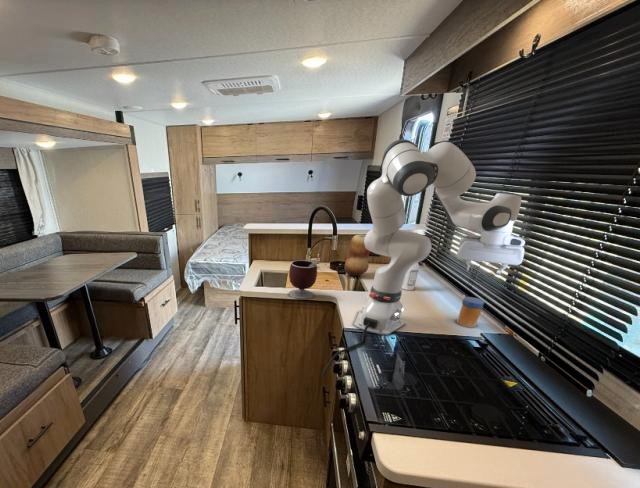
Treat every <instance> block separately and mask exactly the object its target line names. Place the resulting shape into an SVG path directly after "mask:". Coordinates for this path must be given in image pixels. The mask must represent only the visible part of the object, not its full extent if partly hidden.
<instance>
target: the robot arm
mask: <svg viewBox="0 0 640 488" xmlns="http://www.w3.org/2000/svg"><path fill="white" fill-rule="evenodd" d="M381 159H382V160H381V164H380V166H379V170H378V171H379V173H380V175H381V176H380V177H378V178H377V179H375V180H373V181H372V182H370V184H369V185H368V187H367V190H366V200H367V207H368V211H369V214H370V217H371V221H372V226H373V227H372V228H370V229H369V230H368V231H367V232H366V234H365V235H366V236H365V239H364V245H365V248H366V249H367V250H369V251H370V253H373V254H375V255H379V256H384V257H388V258H390V261H389V263H387V264H383V265H381V266H379V267H378V268H376V270H375V272H374V276H373V277H374V278H373V283H372V286H371V288H370V290H369V295H368V296H366V300H365V303H364V306H363V307H362V309H360V310H358V311H359V312H358V314H357V316H356V318H355V321H354V326H355V327H357V328H359V329H360V330H363V331H362V335H361V340H360V341H359V342H357V343H355V344H353V345H350V346H348V347H345V348H342V349H341V350H339V351H337V352H335V354H333V355H332V357H331V358H330V360H329V361H328V363H327V364H326V365H325V367H324V369H323V371H322V374H321V377H322V378H324V377H325V376H326V374H327V371H328V369H329V368H330V366H331V365H332V364H333V361H334V360H335V359H336V357H338V356H339V355H341V354H342V353H344V352H347V351H349V350H352V349H354V348H356V347H359V346H361V345H362V344H363V343H364V341H365V335H366V333H367V332H368V333H373V334H377V335H382V336H389V335H390V334H392V333H393V332H395V331H396V330H398V329H399V328H401V327H402V326H404V324H405V321H404V320H402V319H401V317H402V313H403V311H404V310H405V309H404V308H403V307H404V305H403V303H402V302H401V298H402V295H403V291H402V290H403V289H402V284H403V281H404V277H405V275H406V273H407V271H408V270H409V269H410V267H412V266H413V265H414V264H416V263H418V264H419V263H420V262H422V261H424V260H425V259H426V258H427V257H429V255H430V254H431V251H432V241H431V239H430V238H429V237H428V236H426V235H423V234H421V233H418V232H413V231H407V230H402V229H401V228H403V226H404V225H405V224H406V219H407V214H406V209H405V205H404V200H403V197H414V196H416V195H418V194H420V193H422V192H424V191H425V190H426V189H427V188H429V186H431V185H433V186H434V187H433V191H434V195H435V197H436V198H437V201H438V203H439V204H440V206H441V208H442V209H443V211H444V213H445V215H446V216H445V217H446V221H447V223H448V224H449V226H450V227H453V228H464V229H469V230H474V231H480V232H481V233H480V236H478V235H465V236H463V237H461V238H460V240H459V248H458V250H457V253H456V257H457V259H459V260H465V262H466V265H467V267H466V271H467V272H472V271H473V266H472V265H471V264H470V263H471V262H472V261H475V262H476V261H477V262H483V263H484V262H485V263H492V264H501V267H499V268H496V269H495V273H494V274H495V275H499V276H500V275H501V274H502V272H503V271H504V270H506V269H508V266H509V265H511V266H519V265H521V264H523V260H524V256H525V248H524V246H525V244H526V241H525V239H523V238H522V237H520V236H517V235H514V234H512V233H513V226H514V224H515V223H516V221H517V219H518V216H519V213H520V211H521V205H522V196H520V195H519V194H516V193H510V192H498V193H496V194H495V195H494V197H493V198H492V199H491V200H490V201H487V202H480V201H470V200H466V199H465V200H464V199H462V198H461V195H463V194H464V193H466V192H467V191H469V189H470V188H472V186H473V185H474V183H475V180H476V177H477V172H476V168H475V166H474V164H473V163H472V161H471V160H470V159H469V158H468V156H467V155H466V154H465V152H463V151H462V149H460V148H459V147H458V146H457V145H455V144H454V143H453V142H450V141H442V142H439V143H436V144H435V145H433V146H432V147H430V148H429V149H428V150H426V151H421V150H420V149H419V147H417V144H415V143H414V142H412V141H411V140H408V139H403V138H401V139H396V140H395V141H393V142H391V143H390V144H389V145H388V146H387V147H386V148H385V150H384V152H383V155H382V158H381ZM402 196H403V197H402Z"/></svg>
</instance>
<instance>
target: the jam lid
mask: <svg viewBox="0 0 640 488" xmlns="http://www.w3.org/2000/svg"><path fill="white" fill-rule="evenodd" d="M462 304H463V305H464V306H467V307H469V308H474V309H481V308H482V309H483V308H484V305H485V301H484V300H482V299H481V298H478V297H474V296H473V297H472V296H464V297H463V298H462V301H461V305H462Z"/></svg>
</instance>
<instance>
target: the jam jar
mask: <svg viewBox="0 0 640 488" xmlns="http://www.w3.org/2000/svg"><path fill="white" fill-rule="evenodd" d="M482 309H483V308H481V309H474V308H469V307H467V306H464V305H463V304H462V303H461V307H460V310H459V313H458V316H457V319H456V323H457V324H458V325H459V326H462V327H466V328H475V327H476V326H477V325H478V324H477V323H478V322H479V318H480V316H481V312H482Z"/></svg>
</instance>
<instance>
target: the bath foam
mask: <svg viewBox="0 0 640 488" xmlns="http://www.w3.org/2000/svg"><path fill="white" fill-rule="evenodd" d="M419 269H420V264H419V262H418V263H416V264H414V265H413V266H412V267H410V269H409V270H408V271H407V273H406V275H405V277H404V281H403V284H402V288H401V290H405V291H413V290H414V289H415V288H416V287H415V286H416V282H417V278H418V274H419Z"/></svg>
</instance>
